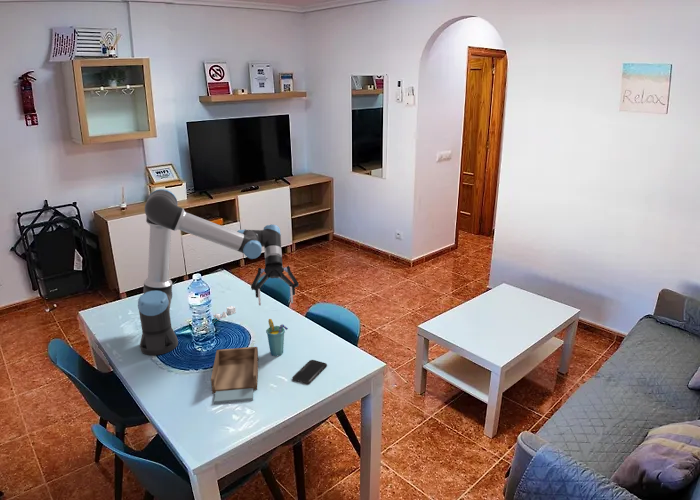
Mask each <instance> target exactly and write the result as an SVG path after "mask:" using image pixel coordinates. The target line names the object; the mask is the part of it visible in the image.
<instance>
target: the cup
mask: <svg viewBox="0 0 700 500" xmlns="http://www.w3.org/2000/svg"><path fill="white" fill-rule="evenodd" d="M268 326H269V327H268V328H267V329H266V330H265V331H266V334H267V342H268V348H269V353H270V355H271V356H274V357H279V356H282V354H284V346H285V345H284V344H285V343H284V341H285V333H286V331H287V330H288V329H289V327H287V326H286V325H284V324H283V323H282V324H280V325H279V326H278V325H274V322H273V320H272V318H269V319H268Z"/></svg>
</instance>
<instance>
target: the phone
mask: <svg viewBox="0 0 700 500" xmlns="http://www.w3.org/2000/svg"><path fill="white" fill-rule="evenodd" d="M327 367H328V364H327V363H326V362H322V361H319V360H315V359H310V360H309V361H308V362H306V363H305V364H304V365H303V366H302V367H301V368H300V369H299V370H298V371H297V372H296V373H295V374H294V375H293V376H292V377H291V378H292V381H293V382H294V381H295V382H297V383H300V384H303V385H310V384H312V382H313V381H314V380H315V379H316V378H317V377H319V376H320V374H321V373H322V372H323V371H324V370H325V369H326V368H327Z"/></svg>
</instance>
